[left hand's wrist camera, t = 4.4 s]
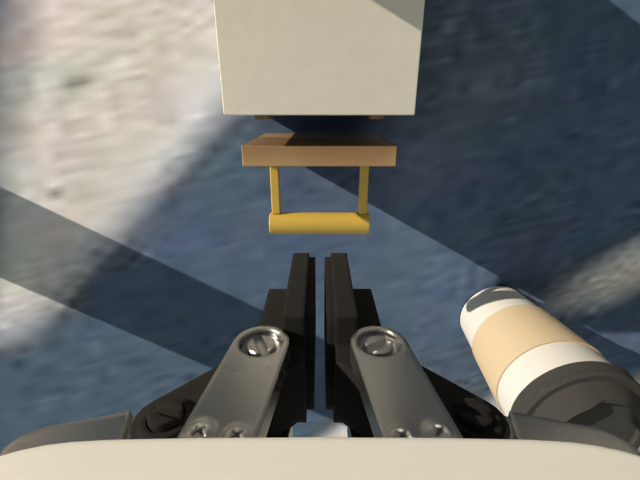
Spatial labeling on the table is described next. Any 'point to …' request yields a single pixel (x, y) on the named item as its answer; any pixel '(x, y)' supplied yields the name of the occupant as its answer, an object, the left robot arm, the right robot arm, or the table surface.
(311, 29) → the cabinet
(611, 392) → the coffee cup
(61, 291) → the table surface
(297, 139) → the drawer
